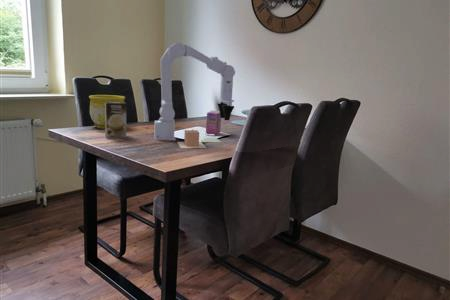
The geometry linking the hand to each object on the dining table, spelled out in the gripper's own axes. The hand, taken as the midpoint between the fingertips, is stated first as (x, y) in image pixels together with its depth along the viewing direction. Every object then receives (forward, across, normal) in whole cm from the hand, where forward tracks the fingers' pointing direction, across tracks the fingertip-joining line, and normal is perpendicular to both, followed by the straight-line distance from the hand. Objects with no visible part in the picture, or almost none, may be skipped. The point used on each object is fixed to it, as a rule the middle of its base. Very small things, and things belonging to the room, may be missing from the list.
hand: (224, 119), depth 165 cm
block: (+10, -14, +18) cm, 25 cm away
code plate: (+10, -14, +18) cm, 25 cm away
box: (+10, +14, +2) cm, 18 cm away
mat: (+10, -4, +8) cm, 13 cm away
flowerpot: (+10, +32, +56) cm, 65 cm away
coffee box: (+10, +6, +51) cm, 52 cm away
